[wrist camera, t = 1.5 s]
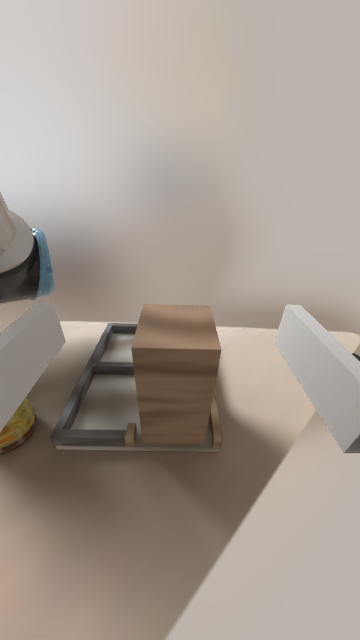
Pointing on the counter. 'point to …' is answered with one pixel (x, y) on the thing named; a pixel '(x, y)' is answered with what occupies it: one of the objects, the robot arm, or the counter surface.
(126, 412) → the grey flat tray
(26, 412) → the sauce bottle
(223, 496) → the counter surface
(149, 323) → the walnut block
